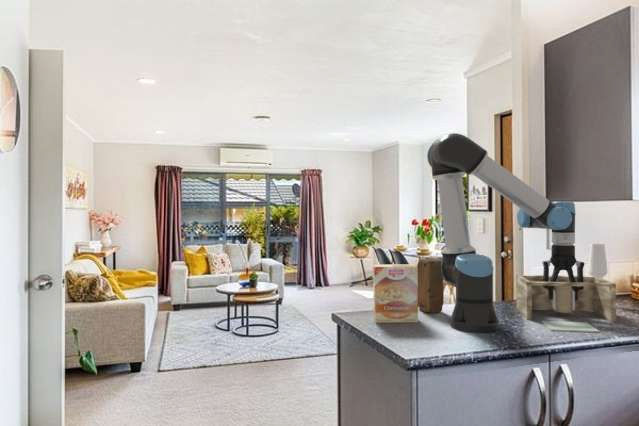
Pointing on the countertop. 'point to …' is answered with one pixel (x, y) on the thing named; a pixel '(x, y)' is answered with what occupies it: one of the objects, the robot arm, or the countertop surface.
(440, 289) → the block
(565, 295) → the candle
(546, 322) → the mat
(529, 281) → the access cubby
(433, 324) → the countertop surface
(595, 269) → the champagne flute
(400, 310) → the coffeecake box
